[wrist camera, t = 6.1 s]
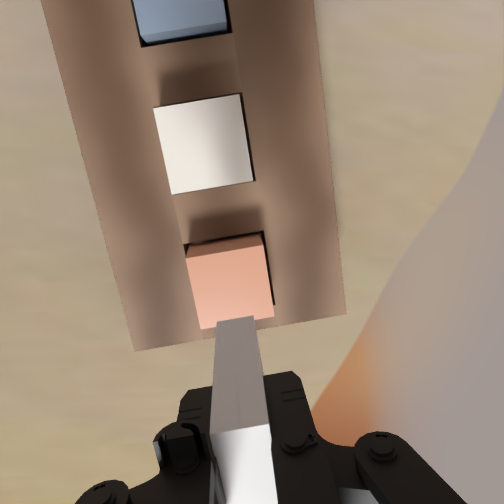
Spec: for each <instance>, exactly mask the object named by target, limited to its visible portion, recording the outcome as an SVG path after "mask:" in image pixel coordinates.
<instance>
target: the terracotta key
mask: <svg viewBox="0 0 504 504" xmlns="http://www.w3.org/2000/svg"><path fill="white" fill-rule="evenodd" d="M185 259H186V264H187V268H188V273H189V278H190V282H191V287H192V292H193V296H194V301H195V306H196V310H197V315H198V320H199V324H200V329H207V328H212V327H216V324H217V322H218V321H224V320H229V319H235V318H241V317H247V316H252V315H253V316H254V320H258V319H263V318H269V317H275V316H274V309H273V303H272V297H271V290H270V284H269V278H268V272H267V265H266V259H265V253H264V247H263V243H262V240H261V238H260V235H259V233H257V234H251V235H245V236H240V237H234V238H228V239H222V240H216V241H211V242H205V243H199V244H193V245H190V246H189V249H188V252H187V255H186V258H185Z"/></svg>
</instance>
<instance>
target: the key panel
mask: <svg viewBox="0 0 504 504" xmlns="http://www.w3.org/2000/svg"><path fill="white" fill-rule="evenodd" d="M223 2H224V9H225V15H226V21H227V25H226V34H223V35H217V36H211V37H205V38H199V39H193V40H187V41H180V42H174V43H168V44H162V45H156V46H149V45H148V44H147V43H146V42H145V40H144V39H143V38H142V37H141V35H140V30H139V25H138V21H137V16H136V11H135V7H134V2H133V0H41V3H42V7H43V10H44V14H45V18H46V22H47V25H48V29H49V33H50V37H51V40H52V44H53V48H54V52H55V55H56V59H57V63H58V67H59V70H60V74H61V78H62V81H63V85H64V89H65V93H66V96H67V100H68V104H69V108H70V111H71V115H72V119H73V123H74V126H75V130H76V134H77V138H78V141H79V145H80V149H81V152H82V156H83V160H84V164H85V167H86V171H87V175H88V179H89V182H90V186H91V190H92V194H93V197H94V201H95V205H96V209H97V212H98V216H99V220H100V223H101V227H102V231H103V235H104V238H105V242H106V246H107V250H108V253H109V257H110V261H111V265H112V268H113V272H114V276H115V279H116V283H117V287H118V291H119V294H120V298H121V302H122V306H123V309H124V313H125V317H126V321H127V324H128V328H129V332H130V336H131V339H132V343H133V347H134V350H135V352H136V351H141V350H147V349H152V348H158V347H164V346H169V345H175V344H181V343H186V342H192V341H198V340H203V339H209V338H215V337H216V327H212V328H207V329H200V324H199V320H198V315H197V310H196V306H195V301H194V296H193V292H192V287H191V282H190V278H189V273H188V268H187V264H186V259H185V258H186V255H187V252H188V249H189V246H190V245H193V244H199V243H205V242H211V241H216V240H222V239H228V238H234V237H240V236H245V235H251V234H257V233H259V235H260V238H261V240H262V243H263V247H264V253H265V259H266V265H267V272H268V278H269V284H270V290H271V297H272V303H273V309H274V316H275V317H269V318H263V319H258V320H254V321H255V327H256V330H260V329H265V328H271V327H277V326H282V325H288V324H293V323H299V322H305V321H310V320H316V319H322V318H327V317H333V316H339V315H344V314H347V313H346V304H345V295H344V285H343V276H342V266H341V257H340V248H339V238H338V229H337V220H336V210H335V201H334V191H333V182H332V173H331V163H330V154H329V145H328V135H327V126H326V117H325V107H324V98H323V88H322V79H321V70H320V60H319V51H318V42H317V32H316V23H315V14H314V4H313V0H223ZM237 94H239V96H240V102H241V108H242V115H243V121H244V127H245V133H246V140H247V146H248V152H249V159H250V165H251V171H252V177H253V181H249V182H243V183H237V184H231V185H225V186H220V187H214V188H208V189H202V190H196V191H190V192H184V193H178V194H173V195H172V194H171V189H170V185H169V180H168V175H167V171H166V166H165V161H164V157H163V152H162V148H161V143H160V138H159V134H158V129H157V124H156V120H155V115H154V110H153V108H159V107H165V106H171V105H177V104H183V103H189V102H195V101H201V100H207V99H213V98H219V97H225V96H231V95H237Z"/></svg>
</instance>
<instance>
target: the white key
mask: <svg viewBox="0 0 504 504" xmlns="http://www.w3.org/2000/svg"><path fill="white" fill-rule="evenodd" d="M153 110H154V115H155V120H156V124H157V129H158V134H159V138H160V143H161V148H162V152H163V157H164V161H165V166H166V171H167V175H168V180H169V185H170V189H171V194H172V195H173V194H178V193H184V192H190V191H196V190H202V189H208V188H214V187H220V186H225V185H231V184H237V183H243V182H249V181H253V177H252V171H251V165H250V159H249V152H248V146H247V140H246V133H245V127H244V121H243V115H242V108H241V102H240V96H239V94H237V95H231V96H225V97H219V98H213V99H207V100H201V101H195V102H189V103H183V104H177V105H171V106H165V107H159V108H153Z"/></svg>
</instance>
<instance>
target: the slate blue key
mask: <svg viewBox="0 0 504 504" xmlns="http://www.w3.org/2000/svg"><path fill="white" fill-rule="evenodd" d="M133 2H134V7H135V11H136V16H137V21H138V25H139V30H140V35H141V37H142V38H143V39H144V40H145V42H146V43H147V44H148V45H149V46H156V45H162V44H168V43H174V42H180V41H187V40H193V39H199V38H205V37H211V36H217V35H223V34H226V25H227V21H226V15H225V9H224V2H223V0H133Z"/></svg>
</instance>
